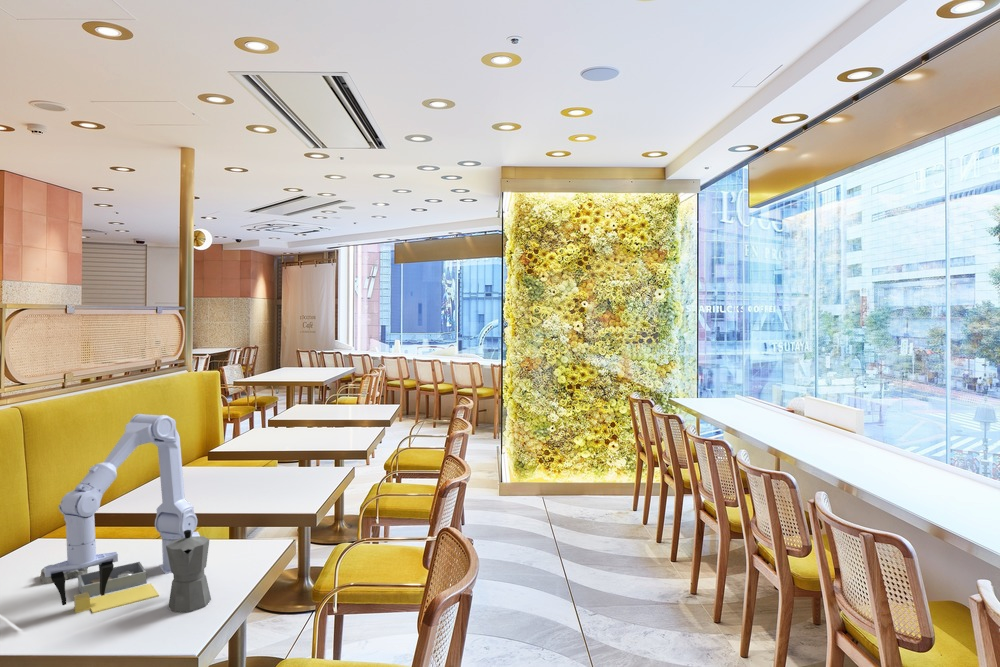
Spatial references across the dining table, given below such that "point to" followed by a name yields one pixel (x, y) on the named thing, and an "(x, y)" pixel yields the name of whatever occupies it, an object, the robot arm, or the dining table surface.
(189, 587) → the coffeepot
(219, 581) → the dining table surface
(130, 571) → the grey rounded puck
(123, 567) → the tub
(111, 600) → the lid
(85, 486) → the robot arm
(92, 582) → the walnut block
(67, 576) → the egg carton
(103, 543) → the dining table surface
